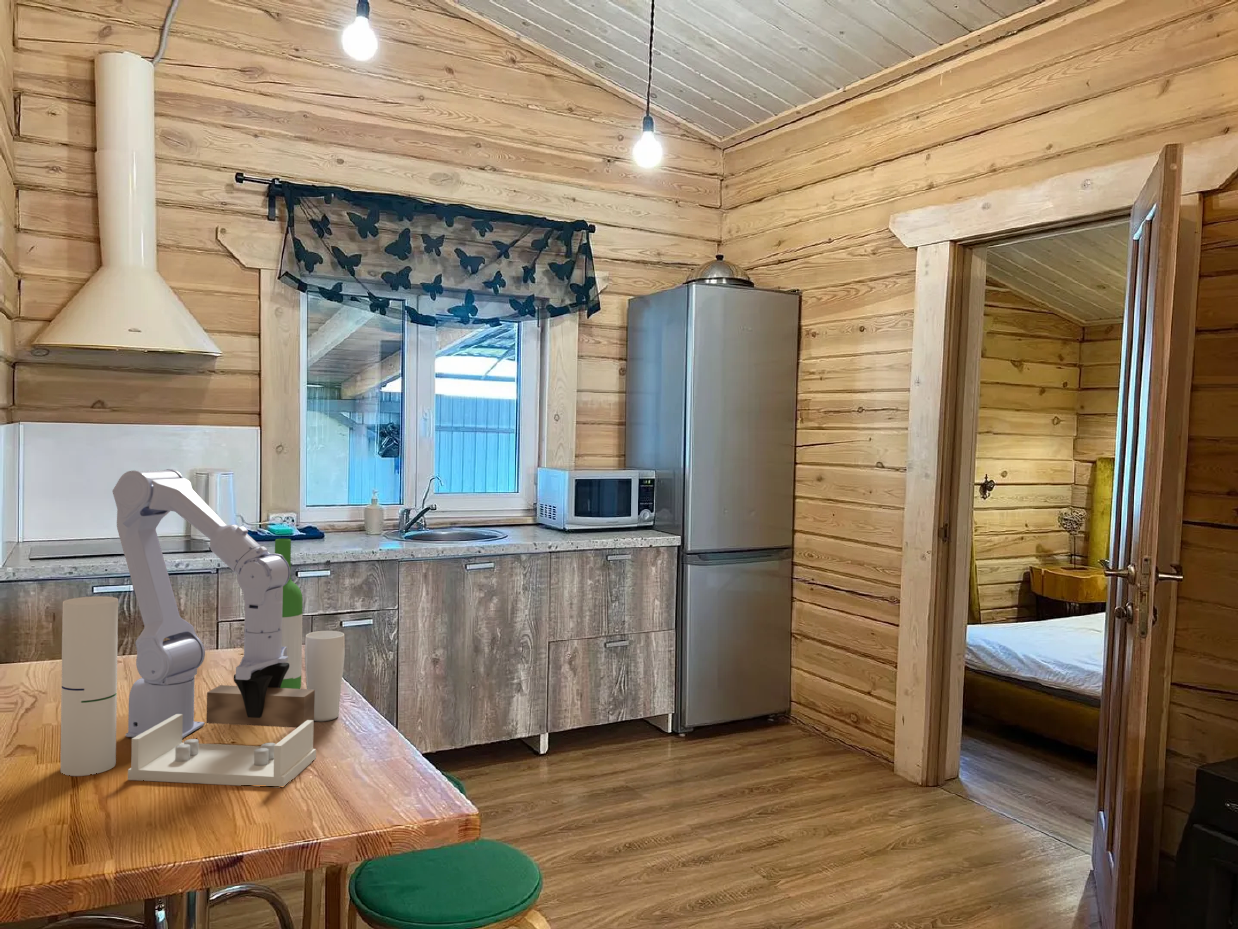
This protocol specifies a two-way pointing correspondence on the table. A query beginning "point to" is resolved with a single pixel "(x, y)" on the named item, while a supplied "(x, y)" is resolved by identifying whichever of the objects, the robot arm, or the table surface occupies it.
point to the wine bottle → (291, 621)
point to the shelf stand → (218, 758)
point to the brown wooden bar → (278, 709)
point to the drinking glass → (325, 671)
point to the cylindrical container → (89, 685)
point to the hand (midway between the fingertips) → (261, 712)
